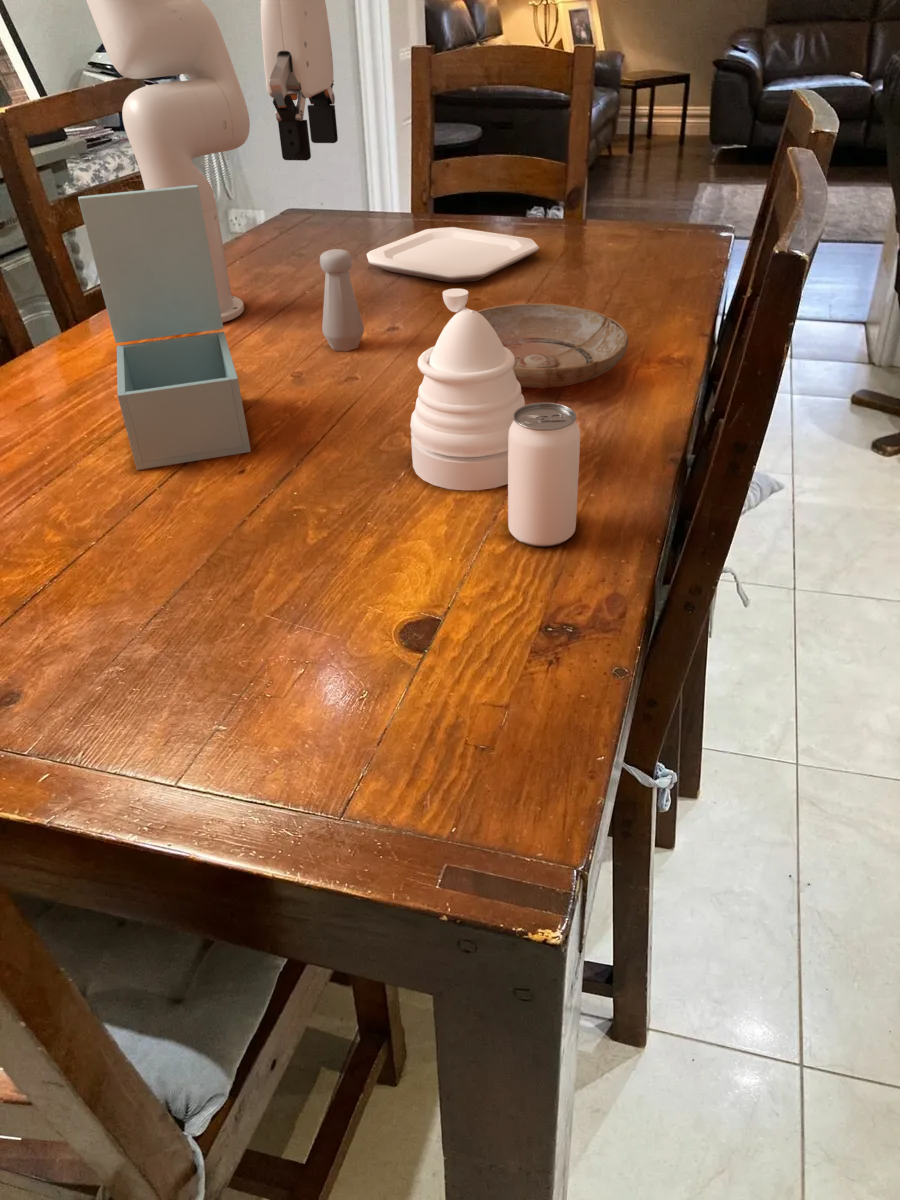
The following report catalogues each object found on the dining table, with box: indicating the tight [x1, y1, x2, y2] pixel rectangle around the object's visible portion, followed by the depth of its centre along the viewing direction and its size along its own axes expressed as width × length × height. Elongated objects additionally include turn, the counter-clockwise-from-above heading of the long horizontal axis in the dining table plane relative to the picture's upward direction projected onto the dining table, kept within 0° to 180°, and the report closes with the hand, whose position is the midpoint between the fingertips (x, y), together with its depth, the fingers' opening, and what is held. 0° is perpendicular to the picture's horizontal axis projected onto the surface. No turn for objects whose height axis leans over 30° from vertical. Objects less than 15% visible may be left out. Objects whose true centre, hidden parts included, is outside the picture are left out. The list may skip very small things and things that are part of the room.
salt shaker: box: [319, 248, 365, 352], centre depth 128 cm, size 6×6×13 cm
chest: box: [116, 331, 252, 471], centre depth 108 cm, size 16×13×9 cm
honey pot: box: [409, 288, 526, 491], centre depth 97 cm, size 13×13×18 cm
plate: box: [366, 226, 540, 284], centre depth 163 cm, size 25×25×2 cm
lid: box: [77, 185, 224, 344], centre depth 106 cm, size 16×13×1 cm
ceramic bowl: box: [475, 303, 629, 389], centre depth 121 cm, size 23×24×5 cm
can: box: [507, 402, 581, 548], centre depth 86 cm, size 6×6×12 cm
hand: (311, 150), depth 108 cm, fingers open, 9 cm apart
